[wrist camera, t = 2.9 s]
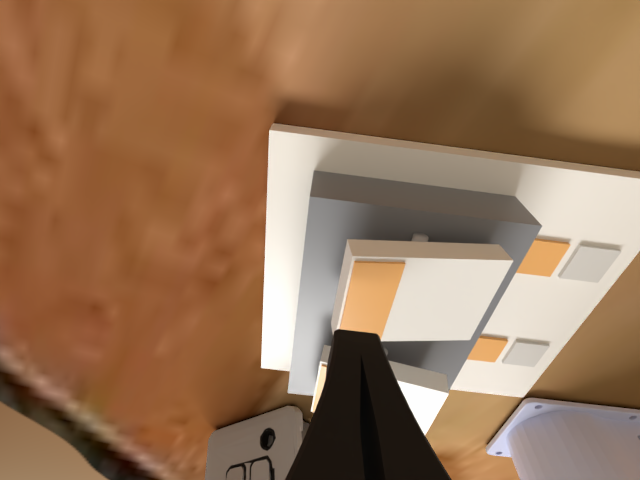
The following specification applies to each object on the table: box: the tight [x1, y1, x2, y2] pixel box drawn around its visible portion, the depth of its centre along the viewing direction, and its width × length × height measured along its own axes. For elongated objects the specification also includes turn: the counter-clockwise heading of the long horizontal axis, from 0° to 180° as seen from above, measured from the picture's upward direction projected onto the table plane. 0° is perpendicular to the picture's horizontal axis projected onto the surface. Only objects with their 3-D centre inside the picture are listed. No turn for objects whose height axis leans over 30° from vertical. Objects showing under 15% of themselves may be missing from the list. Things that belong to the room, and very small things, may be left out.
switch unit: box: [261, 123, 640, 397], centre depth 18 cm, size 18×16×4 cm
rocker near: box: [331, 239, 514, 341], centre depth 14 cm, size 6×4×1 cm
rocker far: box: [311, 345, 449, 435], centre depth 18 cm, size 6×4×1 cm
